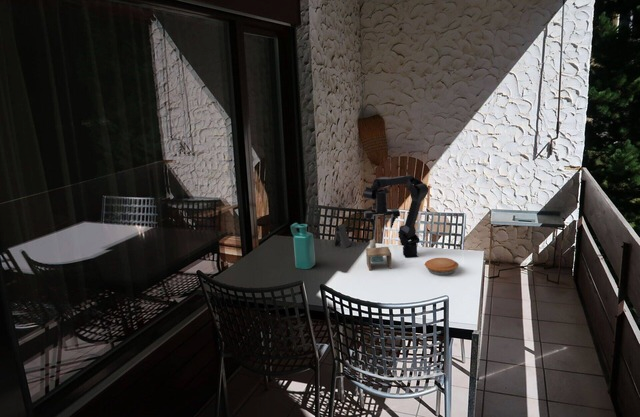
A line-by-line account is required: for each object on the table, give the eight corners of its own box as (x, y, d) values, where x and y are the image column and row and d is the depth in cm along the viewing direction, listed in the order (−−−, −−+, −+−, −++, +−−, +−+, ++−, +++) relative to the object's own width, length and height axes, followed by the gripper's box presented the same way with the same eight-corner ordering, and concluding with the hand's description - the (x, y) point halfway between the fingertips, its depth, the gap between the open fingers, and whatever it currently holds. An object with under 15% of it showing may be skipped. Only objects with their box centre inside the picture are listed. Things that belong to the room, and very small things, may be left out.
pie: (434, 279, 235) (434, 269, 234) (419, 268, 250) (418, 258, 248) (464, 274, 239) (464, 264, 238) (447, 263, 253) (447, 253, 252)
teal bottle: (316, 264, 265) (313, 222, 259) (309, 269, 257) (306, 227, 252) (299, 262, 269) (296, 221, 263) (292, 268, 261) (288, 226, 256)
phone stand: (351, 245, 290) (350, 224, 287) (345, 248, 285) (344, 227, 283) (337, 243, 295) (336, 223, 292) (331, 246, 291) (330, 225, 288)
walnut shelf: (388, 261, 261) (388, 246, 259) (391, 269, 251) (391, 253, 249) (366, 263, 260) (366, 248, 258) (369, 270, 251) (368, 255, 249)
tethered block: (378, 249, 279) (377, 239, 277) (383, 260, 262) (382, 249, 260) (367, 250, 279) (366, 240, 277) (371, 261, 262) (370, 250, 260)
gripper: (396, 196, 282) (397, 223, 286) (362, 198, 282) (363, 226, 286) (400, 201, 272) (400, 229, 275) (364, 203, 271) (365, 232, 275)
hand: (382, 229), depth 278 cm, fingers open, 9 cm apart
